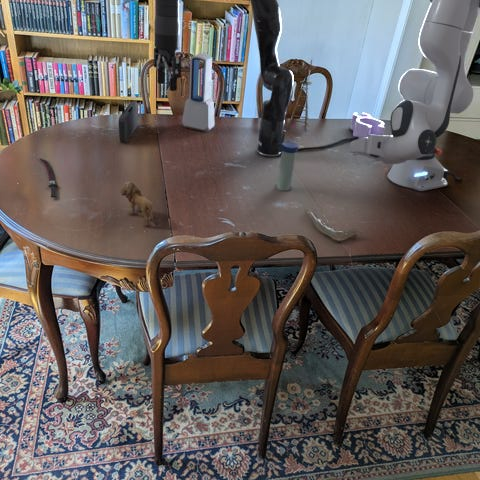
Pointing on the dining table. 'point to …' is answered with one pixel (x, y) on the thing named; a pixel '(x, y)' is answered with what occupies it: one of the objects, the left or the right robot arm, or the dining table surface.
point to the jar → (285, 171)
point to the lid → (289, 147)
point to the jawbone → (331, 232)
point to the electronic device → (199, 97)
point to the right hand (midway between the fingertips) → (364, 155)
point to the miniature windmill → (305, 83)
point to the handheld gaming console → (128, 121)
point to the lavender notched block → (366, 126)
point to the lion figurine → (137, 201)
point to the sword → (52, 181)
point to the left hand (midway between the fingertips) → (166, 86)
